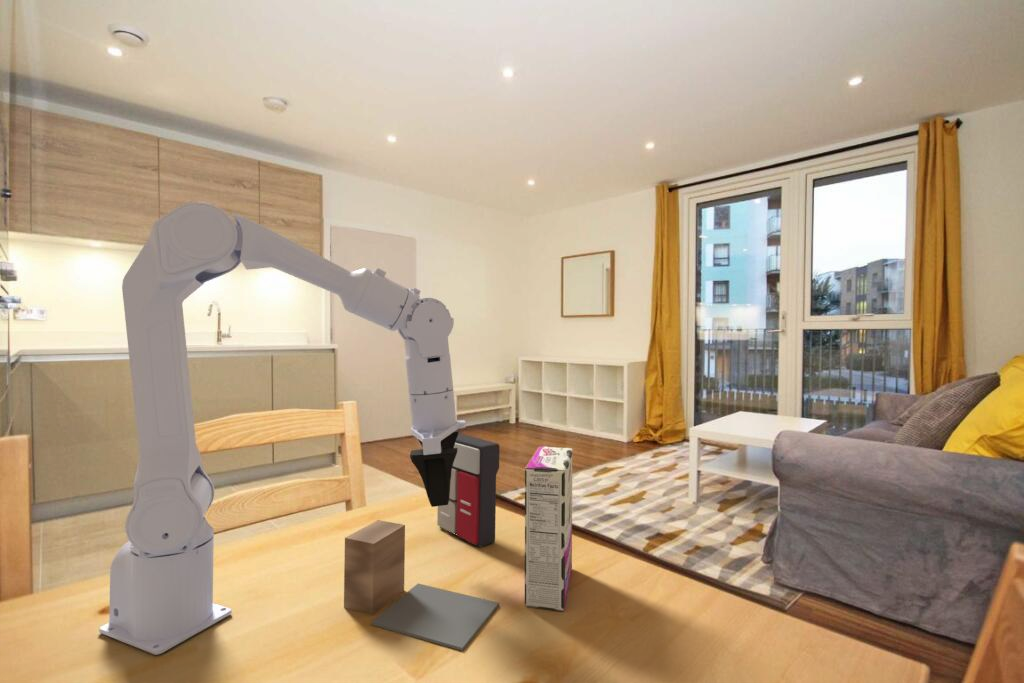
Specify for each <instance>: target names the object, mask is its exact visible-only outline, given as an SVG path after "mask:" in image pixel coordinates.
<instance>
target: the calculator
mask: <svg viewBox="0 0 1024 683" xmlns="http://www.w3.org/2000/svg"><path fill="white" fill-rule="evenodd" d="M454 448H457V454H456V457H455V460H454V463H453V466H452V471H451V480H450V495H449V502H448V505H443V506H437V517H436V518H437V521H436V522H437V523H436V524H437V526H438V527H439V526H440V527H439V528H441V527H442V528H441V529H443V528H444V529H443V530H445V529H446V530H447V532H448V531H449V532H448V533H450V532H451V533H450V534H452V533H455V534H457V535H458V536H459V537H458V536H457V537H458V538H460V537H461V538H460V539H462V538H463V539H462V540H464V539H465V540H464V541H466V540H467V541H466V542H468V541H469V542H468V543H469V544H472V545H474V546H476V547H477V548H482V547H485V546H488V545H490V543H491V544H493V543H496V542H495V541H496V509H497V508H496V506H497V505H496V504H497V503H496V502H497V501H496V500H497V495H496V494H497V474H498V472H499V469H500V444H499V443H498V442H493V441H490V440H485V439H481V438H478V437H474V436H469V435H466V434H462V433H459V432H458V436H457V439H456V441H455V445H454ZM446 530H445V531H446Z"/></svg>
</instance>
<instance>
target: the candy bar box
mask: <svg viewBox="0 0 1024 683" xmlns="http://www.w3.org/2000/svg"><path fill="white" fill-rule="evenodd" d="M573 450H574V449H573V448H572V447H571V448H570V447H561V446H560V447H558V446H547V445H545V446H538V447H537V449H536V451H535V452H534V454H533V455H532V456H531V458H530V460H529V461H528V463H527V464H526V466H525V467H524V606H525V607H527V608H532V609H538V610H539V609H541V610H551V611H558V612H564V611H565V608H566V603H567V598H568V593H569V591H568V590H569V587H570V586H569V585H570V580H571V575H572V570H573V452H574V451H573Z"/></svg>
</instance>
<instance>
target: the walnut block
mask: <svg viewBox="0 0 1024 683" xmlns="http://www.w3.org/2000/svg"><path fill="white" fill-rule="evenodd" d="M405 546H406V524H402V523H396V522H391V521H385V520H380V519H377V520H375V521H374V522H372V523H370V524H368V525H366V526H364V527H362V528H360V529H359V530H357V531H355V532H353V533H351V534H349V535H347V536H346V537H344V566H343V568H344V574H343V575H344V577H343V581H344V582H343V608H344V609H347V610H351V611H355V612H358V613H362V614H365V615H368V616H371V617H372V616H374V615H376V614H377V613H378V612H379V611H380V610H382V609H383V608H384V607H385V606H386V605H387V604H389V603H390V602H391V601H393V600H394V599H395V598H396V597H398V596H399V595H400V594H401V593H403V591H405V557H406V556H405V552H406V550H405V549H406V547H405Z"/></svg>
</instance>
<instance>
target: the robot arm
mask: <svg viewBox="0 0 1024 683" xmlns="http://www.w3.org/2000/svg"><path fill="white" fill-rule="evenodd" d="M232 216H233V218H234V220H235V222H236V224H235V222H234V220H233V219H232V218H231V217H230V215H229V214H228V213H227V212H226V211H225V210H223V209H221V208H220V207H219V206H216V205H214V204H212V203H207V202H199V201H193V202H192V201H190V202H187V203H184V204H181V205H179V206H177V207H176V208H174V209H172V210H170V212H167V213H166V214H164V215H163V216H161V217H159V218H158V219H156V220H155V221H153V224H152V226H151V230H150V234H149V236H148V239H147V240H146V242H145V243H144V245H143V247H141V250H140V251H139V252H138V255H137V256H136V258H135V259H134V260H133V262H132V264H131V266H130V267H129V268H128V270H127V272H126V273H125V275H124V277H123V279H122V284H121V289H122V290H121V291H122V301H123V309H124V320H125V328H126V329H125V330H126V337H127V338H126V339H127V348H128V356H129V357H128V358H129V366H130V367H129V368H130V376H131V386H132V397H133V406H134V414H135V426H136V434H137V444H138V454H139V455H138V456H139V457H138V463H137V468H136V471H135V475H134V479H133V493H134V494H133V496H134V497H133V503H132V505H131V508H130V509H129V511H128V514H127V516H126V518H125V526H124V528H125V534H126V536H127V540H128V541H127V542H126V543H124V544H123V545H122V546H121V548H119V550H118V551H117V552H116V554H115V556H114V558H112V559H113V560H112V562H111V564H110V570H109V614H108V615H109V618H108V619H109V620H108V621H109V622H107V623H106V624H104V625H102V626H100V627H99V628H98V632H99V633H100V634H102V635H105V636H107V637H110V638H113V639H114V640H117V641H120V642H122V643H124V644H128V645H130V646H132V647H135V648H137V649H140V650H143V651H145V652H147V653H149V654H152V655H156V656H157V655H161V654H163V653H165V652H166V651H169V650H170V649H171V648H173V647H175V646H177V645H179V644H181V643H183V642H185V641H186V640H189V638H191V637H193V636H195V635H197V634H199V633H200V632H202V631H204V630H206V629H207V628H209V627H211V626H213V625H214V624H216V623H218V622H219V621H221V620H223V619H225V618H226V617H228V616H230V615H231V614H232V613H233V612H232V610H233V609H232V608H230V607H227V606H224V605H220V604H217V603H214V549H215V548H214V544H215V541H214V539H215V538H214V537H215V535H214V531H215V530H214V527H213V526H212V525H211V524H210V523H209V521H207V519H206V517H205V515H206V513H207V512H208V510H209V508H210V507H211V505H212V504H213V501H214V498H215V486H214V482H213V481H212V479H211V478H210V477H209V476H208V474H207V473H206V472H205V470H204V467H203V462H202V454H201V452H200V450H199V447H198V446H197V439H196V430H195V422H194V421H195V420H194V410H193V408H194V407H193V400H192V399H193V398H192V390H191V378H190V368H189V360H188V348H187V340H186V339H187V338H186V331H185V330H186V328H185V320H184V308H183V302H185V300H186V299H187V298H188V297H190V296H191V295H192V294H193V293H195V292H196V291H197V290H198V289H199V288H200V287H202V286H203V285H204V284H205V283H207V282H208V281H211V280H215V279H217V278H219V277H221V276H224V275H226V274H229V273H230V272H232V271H234V270H235V269H236V268H237V267H239V266H240V264H242V265H243V266H244V269H246V270H256V269H257V270H259V269H266V268H267V269H268V268H269V269H270V268H272V269H275V270H279V271H280V272H282V273H285V274H288V275H290V276H292V277H295V278H297V279H299V280H302V281H304V282H307V283H309V284H312V285H313V286H316V287H318V288H321V289H322V290H323V289H324V290H326V291H327V292H330V293H333V294H335V295H337V296H338V297H339V298H340V301H341V304H342V305H343V308H344V310H345V311H347V312H349V313H350V314H353V315H355V316H358V317H360V318H362V319H364V320H366V321H369V322H371V323H373V324H376V325H377V326H381V327H383V328H385V329H387V330H389V331H391V332H395V331H398V334H399V336H400V337H401V338H402V339H403V340H404V348H405V367H406V377H407V387H408V399H409V400H408V401H409V407H410V417H411V418H410V419H411V427H410V432H411V433H410V434H411V435H412V436H413V437H414V438H416V439H417V440H418V442H419V443H420V445H421V447H422V448H420V449H412V450H411V451H410V453H409V457H410V461H411V463H412V464H413V466H414V467H415V468H416V471H418V473H419V475H420V477H421V480H422V482H423V486H424V490H425V493H426V496H427V499H428V502H429V504H430V506H431V508H434V507H438V506H443V505H448V502H449V495H450V480H451V471H452V466H453V463H454V460H455V457H456V454H457V448H454V445H455V441H456V439H457V436H458V433H459V429H465V428H466V427H467V425H466V420H465V419H461V420H457V414H456V405H455V404H456V403H455V402H456V401H455V394H454V392H455V391H454V381H453V373H452V360H451V354H450V348H449V347H450V346H449V336H450V334H451V333H452V331H453V328H454V323H455V322H454V317H451V313H450V311H449V309H448V308H447V307H446V304H444V303H443V302H442V301H441V300H438V299H437V298H433V297H423V298H420V294H421V290H420V289H418V288H417V287H412V288H411V289H410V288H409V287H406V286H403V285H401V283H397V282H395V281H394V280H392V279H389V278H387V277H385V276H386V275H387V272H386V271H385V270H383V269H381V268H379V267H377V268H375V269H374V270H371V269H369V268H367V267H363V268H360V269H357V270H354V271H350V270H348V269H347V268H344V267H342V266H340V265H339V264H336V263H334V262H333V261H330V260H328V259H327V258H325V257H323V256H321V255H319V254H318V253H316V252H314V251H312V250H310V249H308V248H306V247H304V246H302V245H301V244H298V243H297V242H294V240H291V239H289V238H288V237H286V236H284V235H282V234H280V233H278V232H276V231H274V230H272V229H270V228H268V227H266V226H263V225H262V224H260V223H258V222H255V221H254V220H251V219H249V218H246V217H245V216H242V215H238V214H235V213H232Z"/></svg>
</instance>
